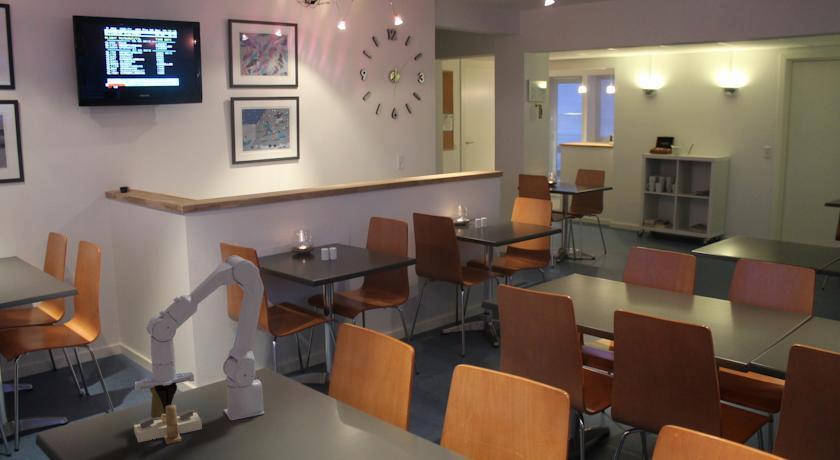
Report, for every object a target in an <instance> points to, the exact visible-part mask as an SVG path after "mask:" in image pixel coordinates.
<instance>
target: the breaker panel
mask: <svg viewBox="0 0 840 460" xmlns="http://www.w3.org/2000/svg"><path fill="white" fill-rule="evenodd" d="M192 412H193V416H191V417H188V418H186V419H183V420H181V419H180V417H179V413H180V412H177V427H178V433H179V435H180V434H185V433H189V432H195V431H199V430H202V429H203V425H202V424H203V423H202V418H201V417H200V416H199V414H198V412H197V410H196V409H194V410H192ZM139 421H140V420H138V421H134V422H133V432H134V433H133V434H134V435H135V438H136V441H137V443H143V442H147V441H152V439H153V440H157V439H161V438H164V436H167V424H166V422H162V420H161V417H157V418H153V421H154V424H151V425H149V426H146V427H144V428H141V426H140V423H139ZM156 438H157V439H156Z"/></svg>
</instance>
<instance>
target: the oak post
mask: <svg viewBox="0 0 840 460" xmlns="http://www.w3.org/2000/svg"><path fill="white" fill-rule="evenodd" d="M165 409H166V424H167V436H164V437H163V438H164V440H165V441H164V442H165V443H166V445H171V444H175V443H179V442H182V437H181V435H180V434H179V433H178V427H177V413H178V412H177V405H176V404H171V405H168V406H166V407H165Z"/></svg>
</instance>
